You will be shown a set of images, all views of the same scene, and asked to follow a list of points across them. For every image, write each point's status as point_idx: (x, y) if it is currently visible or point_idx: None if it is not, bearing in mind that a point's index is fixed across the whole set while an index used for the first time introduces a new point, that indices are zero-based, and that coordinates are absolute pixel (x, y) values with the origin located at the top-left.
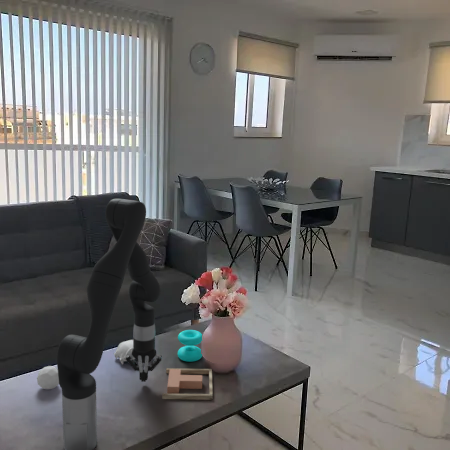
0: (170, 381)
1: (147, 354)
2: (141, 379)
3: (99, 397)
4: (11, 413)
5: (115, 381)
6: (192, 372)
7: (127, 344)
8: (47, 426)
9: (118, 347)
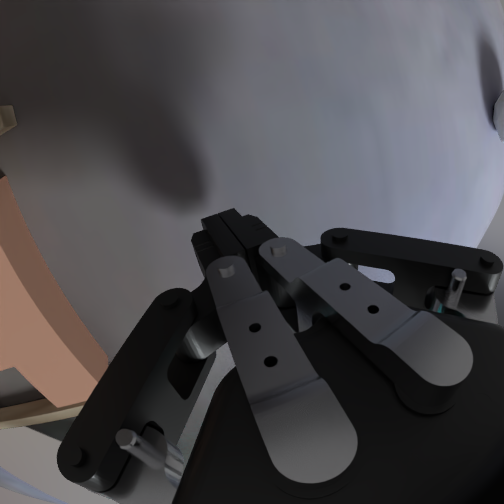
0: (1, 277)
1: (328, 487)
2: (237, 213)
3: (396, 40)
4: (499, 7)
5: (371, 196)
6: (36, 405)
7: None
8: None
9: None
